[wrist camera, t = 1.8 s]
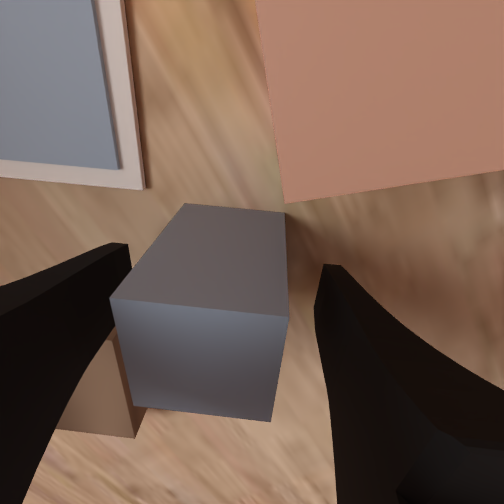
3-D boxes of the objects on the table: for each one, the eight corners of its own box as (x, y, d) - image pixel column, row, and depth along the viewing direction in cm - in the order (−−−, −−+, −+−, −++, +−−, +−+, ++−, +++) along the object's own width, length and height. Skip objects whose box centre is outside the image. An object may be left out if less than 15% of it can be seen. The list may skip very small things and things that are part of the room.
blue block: (284, 212, 12) (289, 317, 6) (273, 292, 14) (270, 422, 8) (184, 203, 12) (109, 297, 6) (188, 283, 14) (133, 405, 8)
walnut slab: (135, 304, 15) (111, 340, 13) (150, 398, 19) (134, 438, 17) (-13, 288, 15) (-61, 321, 13) (32, 384, 19) (2, 422, 17)
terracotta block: (411, -41, 8) (682, -301, 3) (402, 121, 10) (548, 162, 4) (262, -1, 8) (233, -142, 3) (281, 144, 10) (284, 203, 5)
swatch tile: (116, -64, 8) (107, -72, 7) (146, 187, 11) (140, 191, 11) (-128, -79, 8) (-150, -88, 8) (-26, 171, 12) (-38, 175, 11)
